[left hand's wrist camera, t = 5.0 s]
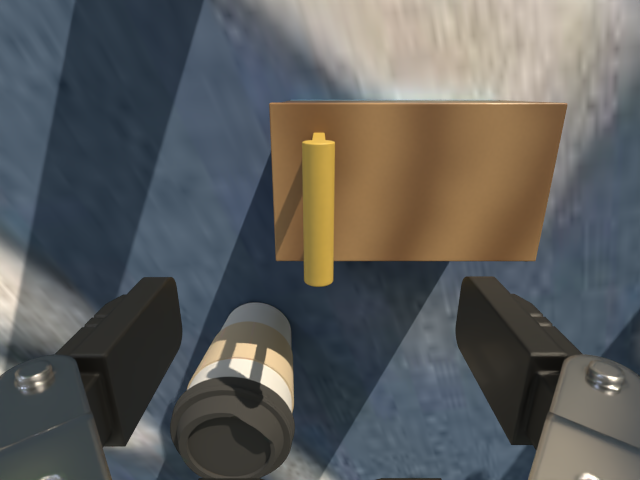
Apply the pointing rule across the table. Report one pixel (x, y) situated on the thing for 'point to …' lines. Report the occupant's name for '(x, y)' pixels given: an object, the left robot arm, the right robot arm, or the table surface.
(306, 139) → the lid
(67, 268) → the table surface
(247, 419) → the coffee cup
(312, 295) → the table surface
